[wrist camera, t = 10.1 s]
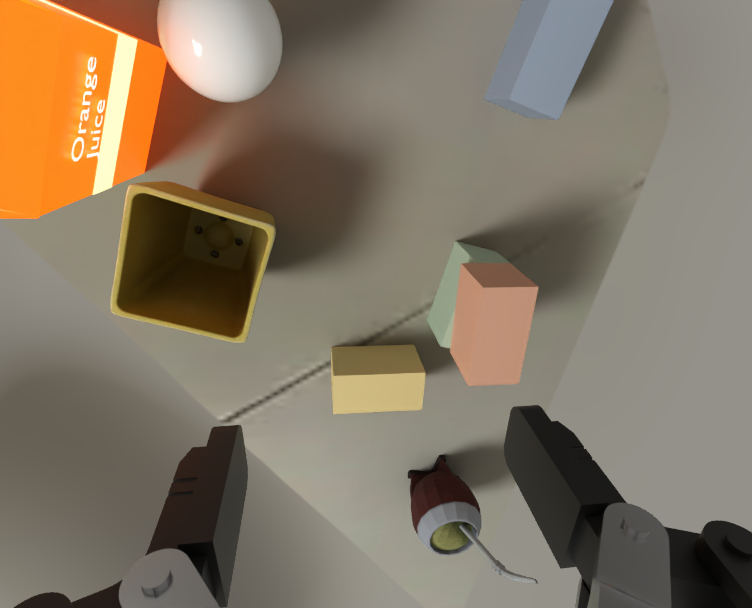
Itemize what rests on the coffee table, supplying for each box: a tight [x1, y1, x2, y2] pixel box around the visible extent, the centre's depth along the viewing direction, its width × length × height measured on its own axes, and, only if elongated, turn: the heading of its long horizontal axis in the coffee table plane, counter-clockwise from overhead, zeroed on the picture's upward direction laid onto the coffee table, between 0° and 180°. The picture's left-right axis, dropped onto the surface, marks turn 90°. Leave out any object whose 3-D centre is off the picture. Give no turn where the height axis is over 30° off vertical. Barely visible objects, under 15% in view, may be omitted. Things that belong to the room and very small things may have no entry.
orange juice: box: [0, 0, 167, 219], centre depth 22 cm, size 8×9×20 cm
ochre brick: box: [331, 345, 426, 414], centre depth 41 cm, size 8×4×5 cm, turn 88°
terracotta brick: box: [450, 263, 539, 386], centre depth 34 cm, size 8×4×5 cm, turn 178°
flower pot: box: [111, 182, 276, 343], centre depth 32 cm, size 9×9×9 cm
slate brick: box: [484, 0, 614, 120], centre depth 31 cm, size 8×4×5 cm, turn 161°
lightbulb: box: [157, 0, 283, 103], centre depth 26 cm, size 6×6×11 cm
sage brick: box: [427, 241, 517, 348], centre depth 38 cm, size 8×4×5 cm, turn 164°
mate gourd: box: [408, 455, 537, 583], centre depth 43 cm, size 8×8×15 cm
